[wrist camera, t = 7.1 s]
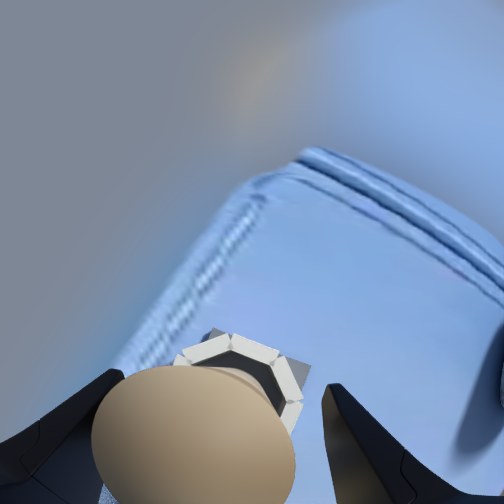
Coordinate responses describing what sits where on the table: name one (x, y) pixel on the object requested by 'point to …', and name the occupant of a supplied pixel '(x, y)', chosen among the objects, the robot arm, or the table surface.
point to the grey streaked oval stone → (502, 388)
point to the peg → (192, 439)
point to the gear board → (254, 369)
